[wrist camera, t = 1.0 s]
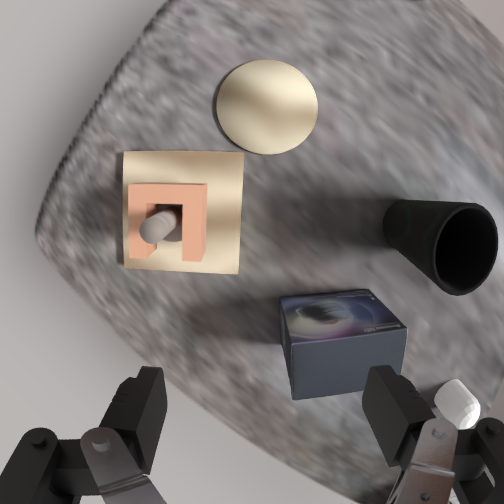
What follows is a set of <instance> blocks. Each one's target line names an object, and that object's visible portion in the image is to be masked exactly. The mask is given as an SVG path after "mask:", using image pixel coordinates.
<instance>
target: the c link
mask: <svg viewBox="0 0 504 504" xmlns="http://www.w3.org/2000/svg"><path fill="white" fill-rule="evenodd" d="M207 190H208V184H207V183H161V182H141V183H134V184H128V234H129V258H138V259H147V258H148V257H149V256H150V255H151V254H152V253H153V252H154V251H155V250H156V249H157V243H156V244H149V243H146V242H145V241H144V240H143V239H142V238H141V236H140V232H139V229H140V225H141V223H142V222H143V221H144V220H146V219H147V218H149V217H151V216H153V215H155V214H157V204H183V216H182V261H194V262H201V260H202V258H203V256H204V253H205V251H206V217H207Z"/></svg>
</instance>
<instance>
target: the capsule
mask: <svg viewBox="0 0 504 504" xmlns="http://www.w3.org/2000/svg"><path fill="white" fill-rule="evenodd" d="M434 402H435V404H436V406H437V407H438V408H439V410H440V411H441V413H442V414H443V415H444V417H445V418H446V420H448V421H450V422H452V423H453V424H454V425H455V426H456V428H457V429H467V428H469V427H471V426H473V425H474V424H475V422H476V421H477V419H478V418H479V415H480V405H479V403H478V401H477V400H476V398H475V397H474V396H473V395H472V394H471V393H470V392H469V391H468V389H467V388H466V387H465V386H464V385H463V384H462V383H461V382H460V381H459V380H458V379H453V380H450V381H448V382H447V383H445V384H444V385H443V386H442V387H441V388H440V389H439V390H438V392H437V393H436V395H435V398H434Z"/></svg>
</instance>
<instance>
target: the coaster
mask: <svg viewBox="0 0 504 504" xmlns="http://www.w3.org/2000/svg"><path fill="white" fill-rule="evenodd" d="M317 112H318V104H317V98H316V95H315V92H314V89H313V87H312V85H311V84H310V82H309V81H308V80H307V78H306V77H305V76H304V75H303V74H302V73H301V72H300V71H298V70H297V69H296V68H294V67H292V66H290V65H288V64H286V63H283V62H280V61H275V60H256V61H252V62H249V63H246V64H244V65H242V66H240V67H238V68H237V69H235V70H234V71H233V72H232V73H231V74H229V75H228V77H227V78H226V79H225V80H224V82H223V84H222V85H221V88H220V90H219V93H218V96H217V115H218V119H219V122H220V124H221V126H222V128H223V130H224V132H225V133H226V134H227V136H228V137H229V138H230V139H231V140H232V141H233V142H234V143H236V144H237V145H238V146H240V147H242V148H244V149H246V150H248V151H251V152H254V153H258V154H278V153H282V152H285V151H288V150H290V149H292V148H294V147H296V146H297V145H299V144H300V143H301V142H303V141H304V140H305V139H306V138H307V136H308V135H309V134H310V132H311V131H312V129H313V127H314V124H315V122H316V118H317Z"/></svg>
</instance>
